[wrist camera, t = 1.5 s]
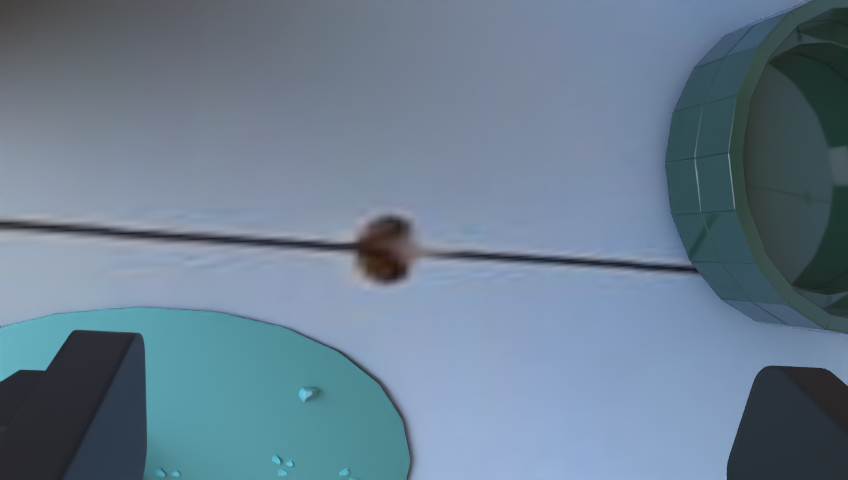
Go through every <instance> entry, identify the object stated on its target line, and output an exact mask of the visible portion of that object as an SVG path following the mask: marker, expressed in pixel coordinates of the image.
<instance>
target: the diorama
mask: <svg viewBox="0 0 848 480" xmlns="http://www.w3.org/2000/svg"><path fill="white" fill-rule="evenodd" d="M74 330H95V331H115V332H135V333H141V334H142V336H143V339H144V345H145V369H146V412H147V453H146V463H145V470H144V475H143V480H406V479H407V474H408V470H409V465H410V456H409V450H408V445H407V440H406V435H405V430H404V425H403V420H402V419H401V417H400V416H399V414H398V413H397V411H396V409H395V408H394V406H393V405H392V403H391V402H390V400H389V399H388V397H387V396H386V394H385V393H384V391H383V390H382V388H381V386H380V385H379V384H378V383H377V382H376V381H374V380H373V379H372V378H371V377H369V376H368V375H367V374H366V373H364V372H363V371H362V370H361V369H359V368H358V367H357V366H356V365H354V364H353V363H352V362H351V361H349V360H348V359H347V358H345V357H344V356H343V355H342V354H340V353H339V352H337V351H335V350H333V349H331V348H328V347H326V346H324V345H322V344H320V343H317V342H315V341H313V340H311V339H309V338H306V337H304V336H302V335H300V334H298V333H295V332H293V331H291V330H289V329H287V328H284V327H281V326H276V325H272V324H268V323H263V322H259V321H254V320H250V319H246V318H241V317H237V316H232V315H228V314H224V313H219V312H211V311H195V310H180V309H164V308H148V307H132V308H120V309H107V310H95V311H83V312H71V313H59V314H53V315H49V316H45V317H40V318H36V319H32V320H28V321H24V322H20V323H16V324H11V325H7V326H3V327H0V382H1V381H3V380H4V379H6V378H7V377H9V376H10V375H12V374H14V373H15V372H17V371H18V370H44V371H45V370H46V369H47V367H48V366H49V364H50V363H51V361H52V360H53V358H54V357H55V355H56V354H57V352H58V351H59V349H60V348H61V346H62V345H63V343H64V342H65V341H66V339H67V338H68V336H69V335H70V333H71V332H72V331H74Z"/></svg>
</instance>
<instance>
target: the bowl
mask: <svg viewBox="0 0 848 480" xmlns="http://www.w3.org/2000/svg"><path fill="white" fill-rule="evenodd" d="M665 165H666V174H667V182H668V191H669V199H670V208H671V214H672V217H673V220H674V222H675V225H676V227H677V230H678V232H679V235H680V237H681V239H682V242H683V244H684V247H685V249H686V252H687V254H688V257H689V259H690V261H691V263H692V264H693V265H694V267H695V268H696V269H697V270H698V272H699V273H700V274H701V275H702V277H703V278H704V279H705V280H706V282H707V283H708V284H709V285H710V287H711V288H712V289H713V290H714V292H715V293H716V294H717V295H718V297H720V299H721V300H723V301H725V302H726V303H728V304H729V305H731V306H732V307H734V308H736V309H737V310H739V311H740V312H742V313H744V314H745V315H747V316H748V317H750V318H751V319H753V320H755V321H757V322H762V323H767V324H772V325H778V326H783V327H788V328H794V329H802V330H810V331H817V332H825V333H833V334H841V335H848V0H808V1H805V2H803V3H800V4H797V5H795V6H792V7H790V8H787V9H785V10H782V11H779V12H777V13H774V14H772V15H769V16H766V17H764V18H761V19H759V20H757V21H754V22H752V23H750V24H748V25H746V26H744V27H742V28H740V29H738V30H736V31H734V32H731V33H729V34H727V35H725V36H724V37H722V39H721V40H720V41H719V42H718V43H717V44H716V45H715V46H714V47H713V48H712V49H711V50H710V51H709V52H708V53H707V54H706V56H705V57H704V58H703V59H702V60H701V61H700V62H699V63H698V64H697V65H696V66H695V67H694V69H693V71H692V73H691V75H690V77H689V79H688V81H687V83H686V86H685V88H684V90H683V92H682V94H681V96H680V99H679V101H678V103H677V105H676V107H675V109H674V113H673V115H672V121H671V128H670V135H669V141H668V148H667V155H666V164H665Z"/></svg>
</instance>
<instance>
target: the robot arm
mask: <svg viewBox="0 0 848 480" xmlns="http://www.w3.org/2000/svg"><path fill="white" fill-rule="evenodd" d="M146 453H147V412H146V369H145V345H144V339H143V336H142V334H141V333H135V332H115V331H95V330H74V331H72V332H71V333H70V335H69V336H68V338H67V339H66V341H65V342H64V343H63V345H62V346H61V348H60V349H59V351H58V352H57V354H56V355H55V357H54V358H53V360H52V361H51V363H50V364H49V366H48V367H47V369H46V370H45V371H44V370H18V371H17V372H15V373H14V374H12V375H10V376H9V377H7V378H6V379H4V380H3V381H1V382H0V480H143V475H144V470H145V463H146ZM727 480H848V386H847V385H846V384H844V383H843V382H842V381H841V380H840V379H839V378H838V377H837V376H835V375H834V374H833V373H832V372H830V371H829V370H826V369H823V368H811V367H791V366H767V367H764V368H763V369H762V370H761V371H760V372H759V373H758V374H757V376H756V378H755V380H754V382H753V385H752V388H751V391H750V394H749V397H748V400H747V403H746V406H745V410H744V413H743V416H742V419H741V422H740V425H739V428H738V431H737V434H736V437H735V440H734V443H733V446H732V449H731V452H730V455H729V459H728V464H727Z"/></svg>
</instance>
